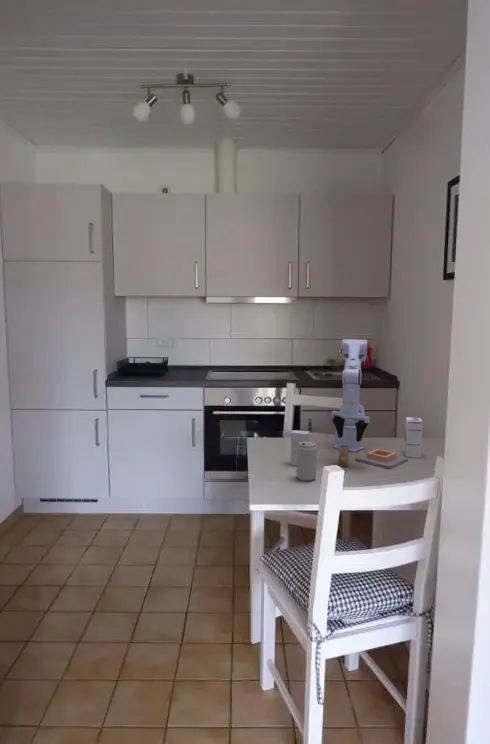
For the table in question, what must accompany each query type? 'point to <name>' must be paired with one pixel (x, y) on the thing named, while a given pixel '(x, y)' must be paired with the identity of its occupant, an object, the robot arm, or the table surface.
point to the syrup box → (413, 437)
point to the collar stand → (382, 458)
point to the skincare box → (297, 443)
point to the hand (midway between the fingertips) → (349, 439)
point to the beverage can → (306, 461)
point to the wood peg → (343, 456)
